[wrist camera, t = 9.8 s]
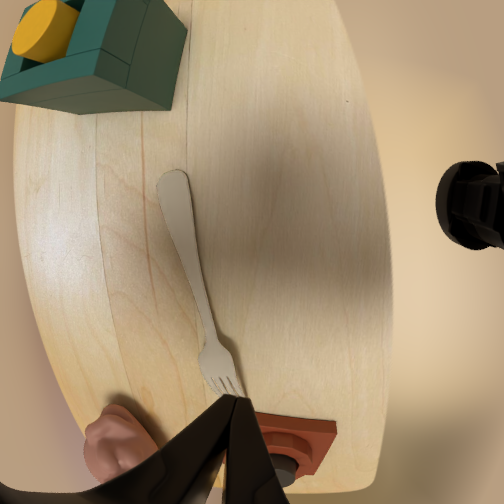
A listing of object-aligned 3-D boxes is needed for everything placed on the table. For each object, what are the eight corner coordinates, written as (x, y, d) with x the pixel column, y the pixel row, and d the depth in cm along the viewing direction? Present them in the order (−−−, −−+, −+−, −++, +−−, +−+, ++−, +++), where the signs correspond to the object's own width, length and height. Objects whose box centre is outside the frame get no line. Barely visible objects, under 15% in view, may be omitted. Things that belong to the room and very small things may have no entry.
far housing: (335, 421, 24) (339, 447, 20) (313, 464, 26) (313, 487, 22) (232, 407, 25) (225, 433, 21) (225, 452, 27) (219, 475, 23)
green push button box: (187, 30, 17) (131, -36, 8) (170, 110, 19) (93, 74, 10) (95, 43, 18) (24, 8, 9) (79, 114, 20) (-5, 100, 10)
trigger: (94, 6, 10) (65, -13, 7) (76, 58, 11) (42, 45, 8) (53, 21, 10) (24, 8, 7) (37, 70, 11) (4, 61, 8)
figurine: (155, 399, 26) (103, 487, 14) (178, 460, 28) (147, 534, 17) (89, 384, 27) (31, 451, 15) (118, 445, 30) (80, 507, 18)
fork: (199, 170, 22) (186, 165, 19) (254, 405, 24) (250, 423, 21) (167, 179, 22) (151, 176, 20) (225, 406, 25) (218, 424, 22)
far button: (300, 454, 22) (300, 471, 20) (290, 474, 23) (289, 490, 21) (257, 449, 22) (254, 466, 20) (251, 469, 23) (248, 485, 21)
